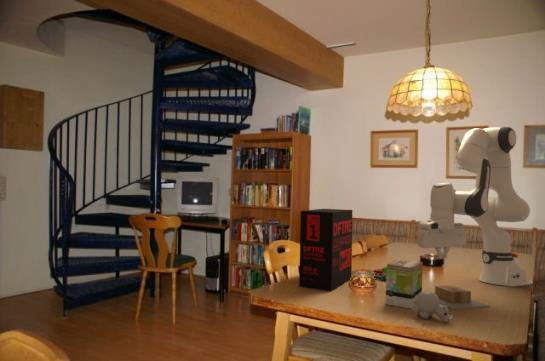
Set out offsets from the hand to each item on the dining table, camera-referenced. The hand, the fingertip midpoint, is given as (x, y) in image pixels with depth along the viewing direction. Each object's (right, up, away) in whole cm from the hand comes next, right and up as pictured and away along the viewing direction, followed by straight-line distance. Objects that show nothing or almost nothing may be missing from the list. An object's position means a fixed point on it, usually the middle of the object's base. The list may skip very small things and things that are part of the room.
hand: (442, 258), depth 161 cm
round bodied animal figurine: (-16, -14, -31) cm, 37 cm away
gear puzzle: (-10, -16, +36) cm, 41 cm away
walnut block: (0, -12, -3) cm, 12 cm away
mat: (+1, -15, -10) cm, 18 cm away
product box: (-44, -14, +17) cm, 49 cm away
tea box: (-19, -14, -11) cm, 26 cm away
